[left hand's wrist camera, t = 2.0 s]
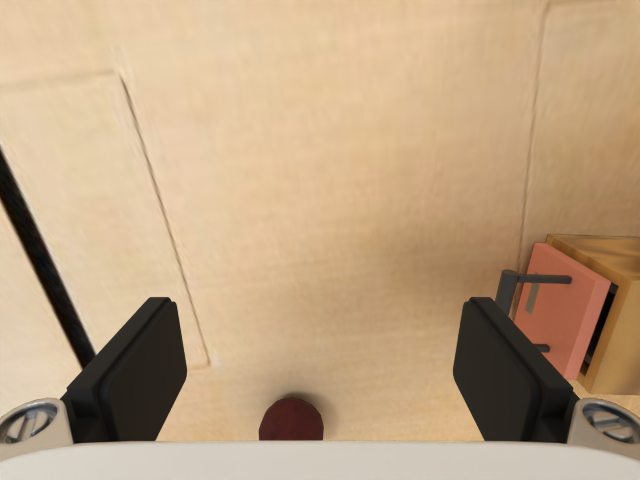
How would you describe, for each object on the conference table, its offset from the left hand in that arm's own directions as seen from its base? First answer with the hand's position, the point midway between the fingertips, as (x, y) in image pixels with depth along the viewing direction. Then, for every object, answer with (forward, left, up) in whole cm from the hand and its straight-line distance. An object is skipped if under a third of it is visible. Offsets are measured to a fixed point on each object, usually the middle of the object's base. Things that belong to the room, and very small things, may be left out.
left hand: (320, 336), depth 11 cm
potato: (+15, +24, -24) cm, 37 cm away
